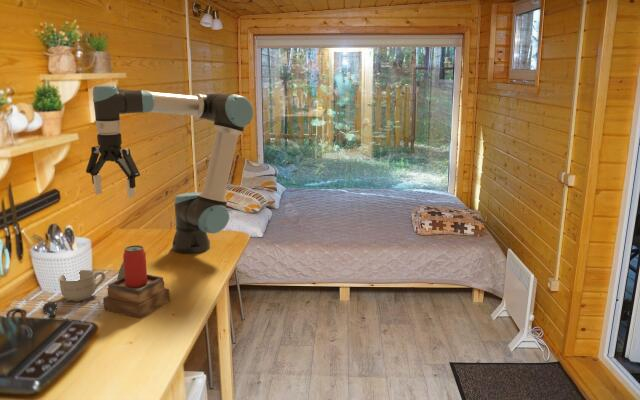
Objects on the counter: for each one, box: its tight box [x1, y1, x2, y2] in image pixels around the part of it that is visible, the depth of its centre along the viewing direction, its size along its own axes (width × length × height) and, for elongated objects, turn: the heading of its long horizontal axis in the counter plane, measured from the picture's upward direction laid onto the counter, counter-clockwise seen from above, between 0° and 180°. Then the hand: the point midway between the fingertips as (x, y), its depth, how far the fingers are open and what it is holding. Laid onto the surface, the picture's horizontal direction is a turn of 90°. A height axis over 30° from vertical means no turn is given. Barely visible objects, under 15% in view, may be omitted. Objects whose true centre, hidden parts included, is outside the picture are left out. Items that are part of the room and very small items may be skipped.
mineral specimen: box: [116, 260, 125, 280], centre depth 194 cm, size 7×9×8 cm
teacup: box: [58, 269, 106, 302], centre depth 180 cm, size 14×11×8 cm
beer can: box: [122, 244, 148, 288], centre depth 172 cm, size 7×7×12 cm
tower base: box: [103, 274, 171, 319], centre depth 174 cm, size 14×14×8 cm
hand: (114, 195), depth 188 cm, fingers open, 13 cm apart
